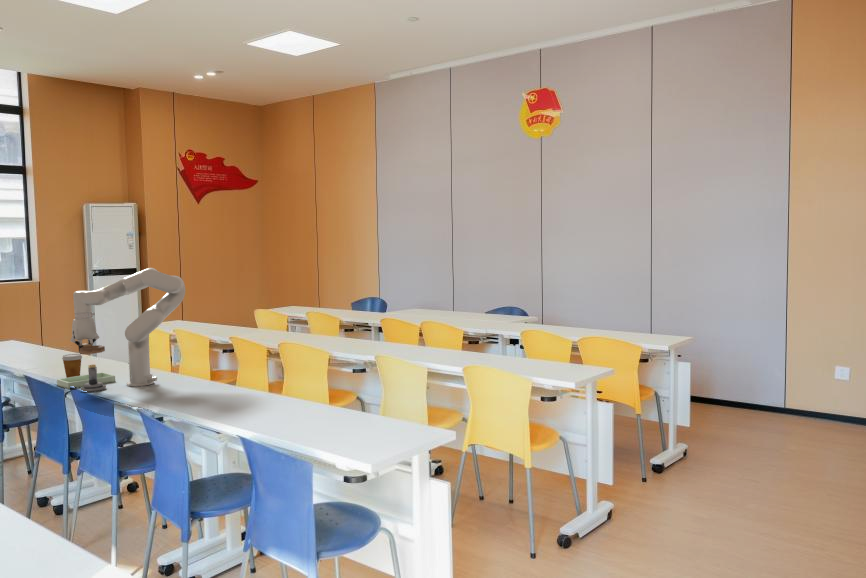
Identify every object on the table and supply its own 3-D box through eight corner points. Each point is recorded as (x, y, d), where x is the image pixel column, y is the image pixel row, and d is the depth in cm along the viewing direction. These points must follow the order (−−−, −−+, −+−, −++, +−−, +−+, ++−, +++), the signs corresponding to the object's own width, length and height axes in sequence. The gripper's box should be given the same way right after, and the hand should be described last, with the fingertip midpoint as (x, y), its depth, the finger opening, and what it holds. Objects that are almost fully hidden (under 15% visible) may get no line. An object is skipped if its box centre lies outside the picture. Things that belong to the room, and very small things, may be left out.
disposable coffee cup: (87, 375, 370) (85, 353, 369) (76, 379, 360) (74, 356, 359) (70, 375, 371) (69, 353, 370) (59, 379, 361) (57, 356, 360)
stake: (110, 389, 334) (108, 364, 333) (86, 393, 326) (84, 368, 325) (100, 386, 342) (99, 362, 341) (77, 390, 334) (75, 365, 333)
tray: (103, 378, 363) (103, 372, 362) (115, 381, 353) (115, 375, 353) (57, 385, 346) (56, 379, 346) (68, 389, 336) (68, 383, 336)
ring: (107, 351, 333) (107, 345, 333) (85, 354, 326) (85, 348, 325) (93, 348, 344) (92, 342, 344) (72, 351, 337) (71, 345, 337)
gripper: (97, 313, 345) (99, 350, 347) (62, 317, 333) (65, 355, 335) (103, 314, 340) (106, 351, 342) (68, 318, 328) (71, 356, 330)
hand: (85, 352), depth 338 cm, fingers closed on ring, 3 cm apart
